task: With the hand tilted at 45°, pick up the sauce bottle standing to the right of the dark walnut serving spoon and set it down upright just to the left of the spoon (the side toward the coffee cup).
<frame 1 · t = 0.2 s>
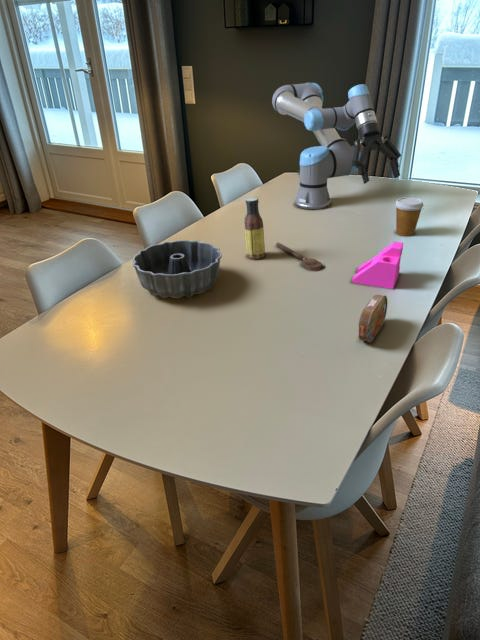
hand: (382, 179, 177), 16 cm above the table, tool tilted 35°, fingers open, 13 cm apart
bundt pan: (181, 286, 143), on the table
tin: (371, 332, 117), on the table
sauce bottle: (255, 256, 160), on the table
bracket: (375, 278, 141), on the table
disposable coffee cup: (405, 233, 171), on the table
wooden spoon: (297, 258, 157), on the table
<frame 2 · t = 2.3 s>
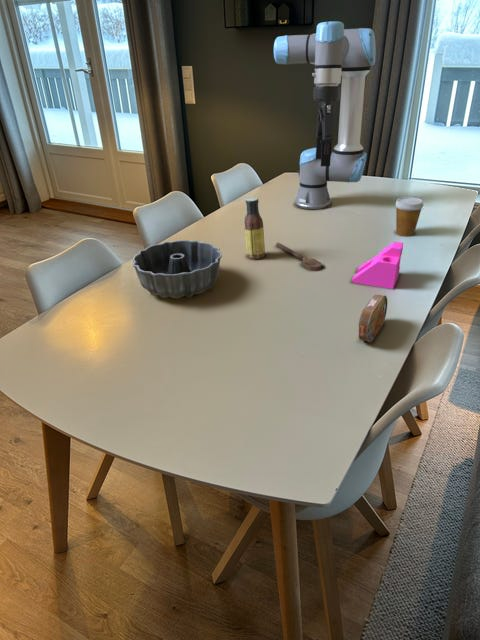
hand: (322, 162, 144), 30 cm above the table, tool pointing down, fingers open, 13 cm apart
nothing on the table moved.
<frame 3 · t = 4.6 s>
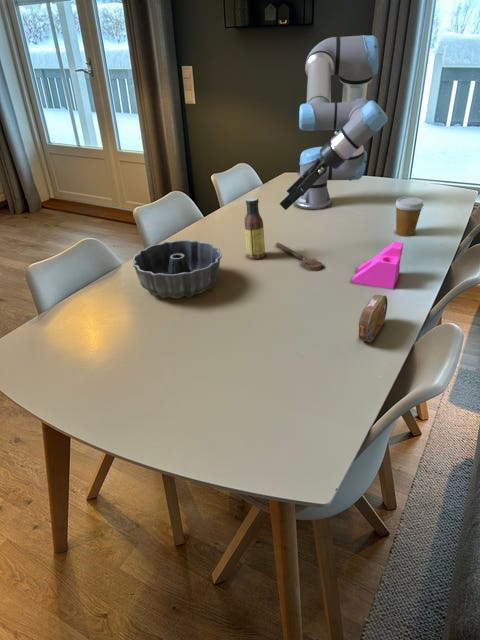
hand: (286, 200, 147), 20 cm above the table, tool tilted 45°, fingers open, 13 cm apart
nothing on the table moved.
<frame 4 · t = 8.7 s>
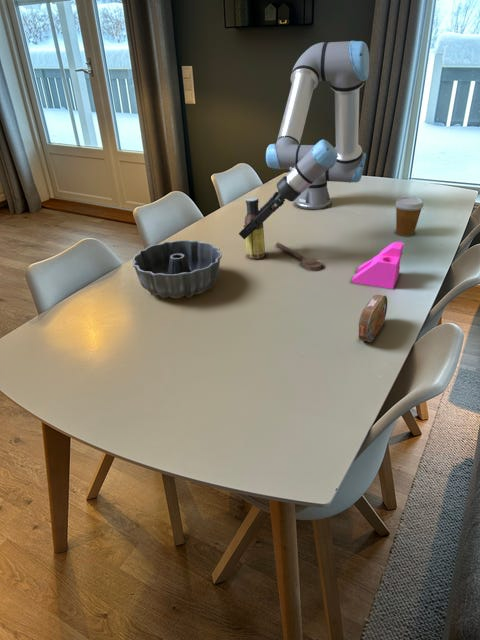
hand: (244, 232, 156), 8 cm above the table, tool tilted 45°, fingers closed on sauce bottle, 6 cm apart
sauce bottle: (255, 256, 160), on the table, touching gripper
everything else where it was.
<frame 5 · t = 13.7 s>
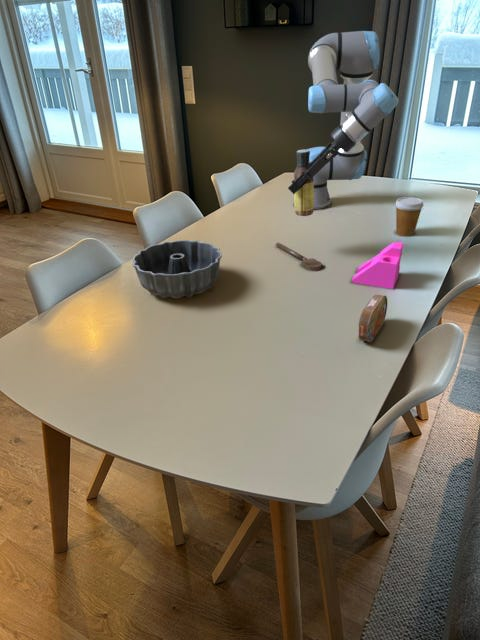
hand: (292, 187, 149), 22 cm above the table, tool tilted 45°, fingers closed on sauce bottle, 6 cm apart
sauce bottle: (303, 214, 153), point 14 cm above the table, touching gripper
everything else where it was.
when the fingers open (8 cm above the table, at t = 19.0 s): sauce bottle stays where it is, on the table.
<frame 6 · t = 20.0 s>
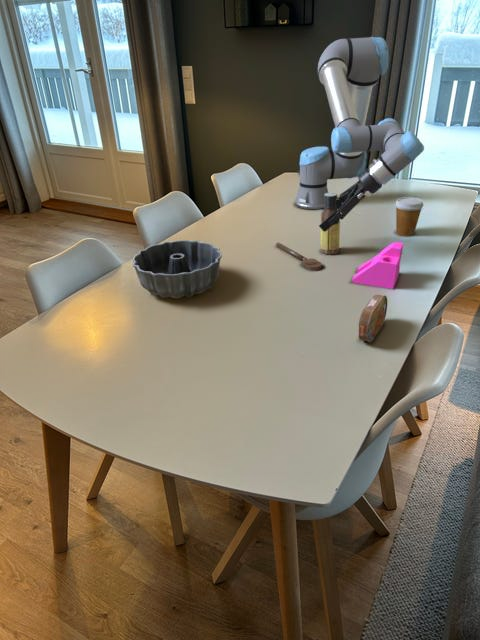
hand: (323, 221, 155), 11 cm above the table, tool tilted 45°, fingers open, 13 cm apart
sauce bottle: (329, 252, 160), on the table
everything else where it was.
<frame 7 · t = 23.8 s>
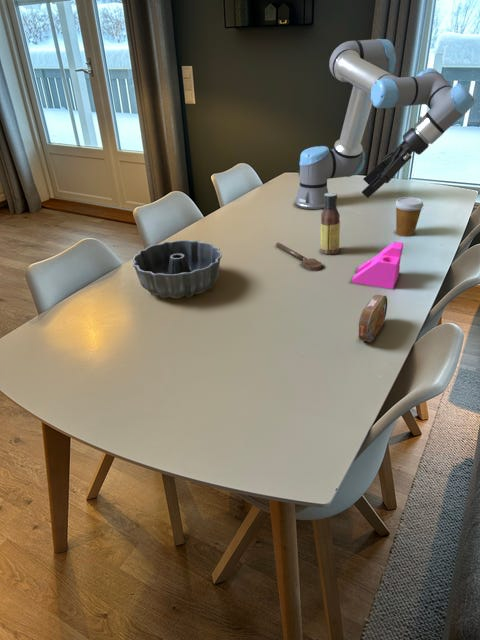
hand: (365, 188, 147), 22 cm above the table, tool tilted 45°, fingers open, 13 cm apart
nothing on the table moved.
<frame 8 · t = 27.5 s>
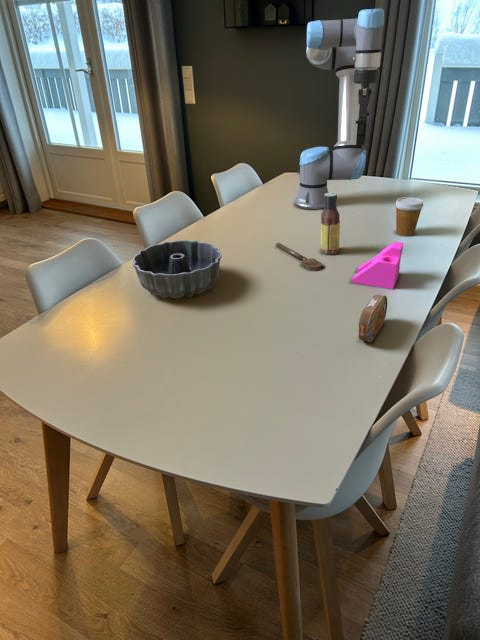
hand: (360, 141, 156), 33 cm above the table, tool pointing down, fingers open, 13 cm apart
nothing on the table moved.
at the end: sauce bottle inside the target area on the table beside the wooden spoon (0.5 cm from its centre), on the table; sauce bottle tilted 0°; wooden spoon moved 0.0 cm from its start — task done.
